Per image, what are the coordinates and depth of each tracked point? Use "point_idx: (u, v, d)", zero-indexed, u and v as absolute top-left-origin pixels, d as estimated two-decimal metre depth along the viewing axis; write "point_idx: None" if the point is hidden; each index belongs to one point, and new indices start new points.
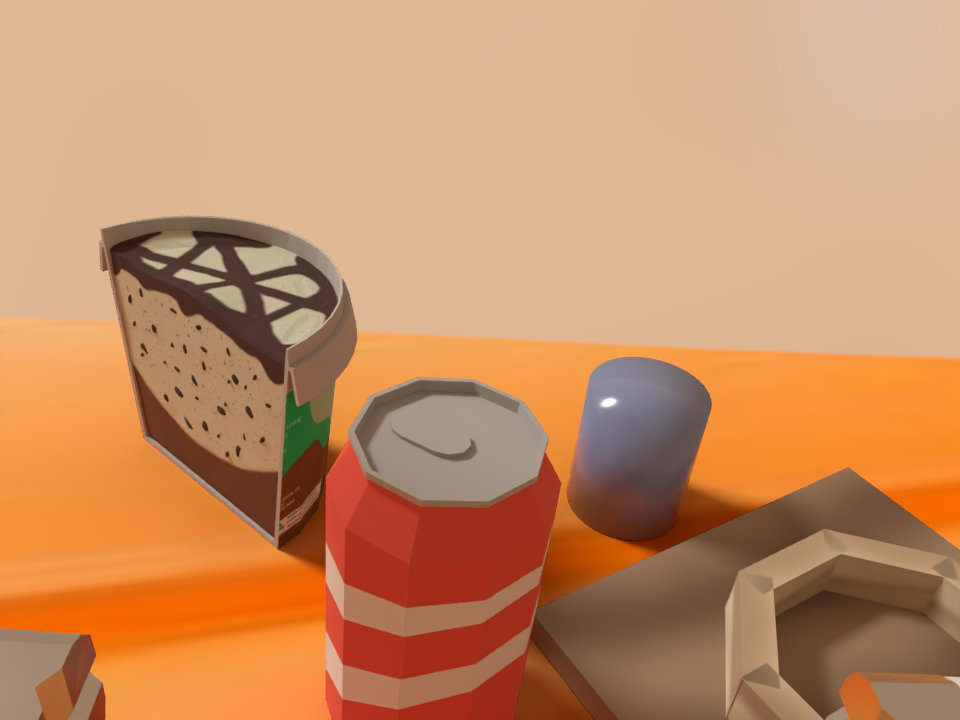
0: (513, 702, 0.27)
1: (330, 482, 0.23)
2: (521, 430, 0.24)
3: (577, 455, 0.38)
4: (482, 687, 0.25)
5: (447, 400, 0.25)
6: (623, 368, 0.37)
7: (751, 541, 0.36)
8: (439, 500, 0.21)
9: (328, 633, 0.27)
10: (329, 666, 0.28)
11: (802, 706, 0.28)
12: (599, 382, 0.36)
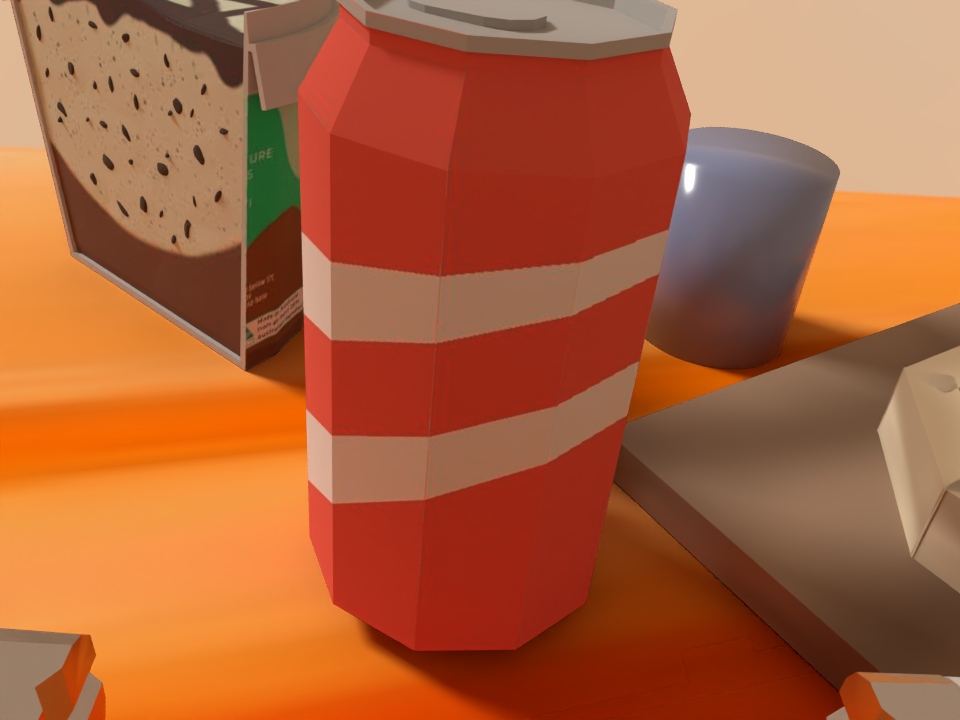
0: (603, 512, 0.17)
1: (305, 91, 0.14)
2: (626, 20, 0.14)
3: None
4: (563, 462, 0.15)
5: None
6: (712, 136, 0.28)
7: (895, 360, 0.27)
8: (502, 37, 0.11)
9: (310, 408, 0.17)
10: (313, 469, 0.18)
11: None
12: None
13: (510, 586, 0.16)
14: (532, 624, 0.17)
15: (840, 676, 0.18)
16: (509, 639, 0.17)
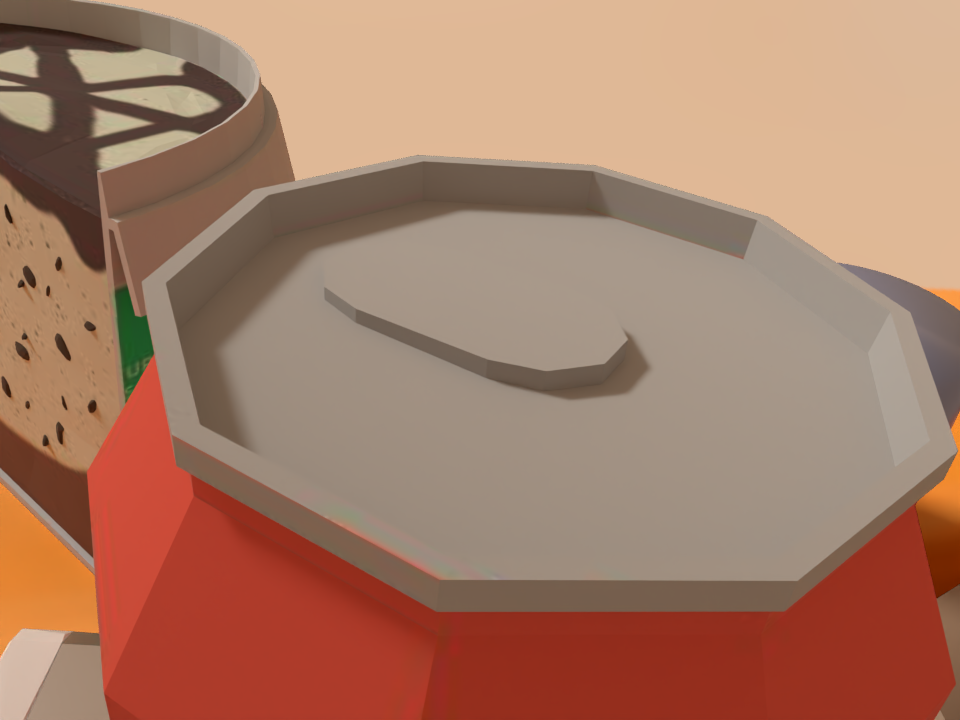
0: None
1: (93, 490, 0.06)
2: (779, 303, 0.07)
3: None
4: None
5: (515, 222, 0.08)
6: None
7: None
8: (541, 576, 0.04)
9: None
10: None
11: None
12: None
13: None
14: None
15: None
16: None
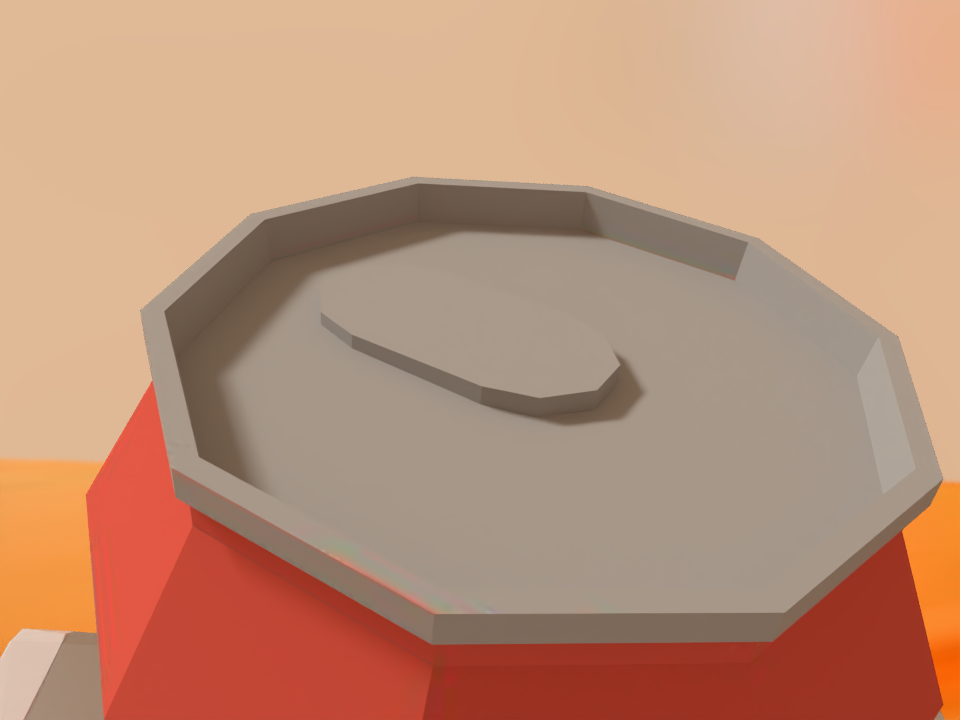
0: None
1: (93, 514, 0.06)
2: (770, 326, 0.07)
3: None
4: None
5: (509, 244, 0.08)
6: None
7: None
8: (533, 609, 0.04)
9: None
10: None
11: None
12: None
13: None
14: None
15: None
16: None
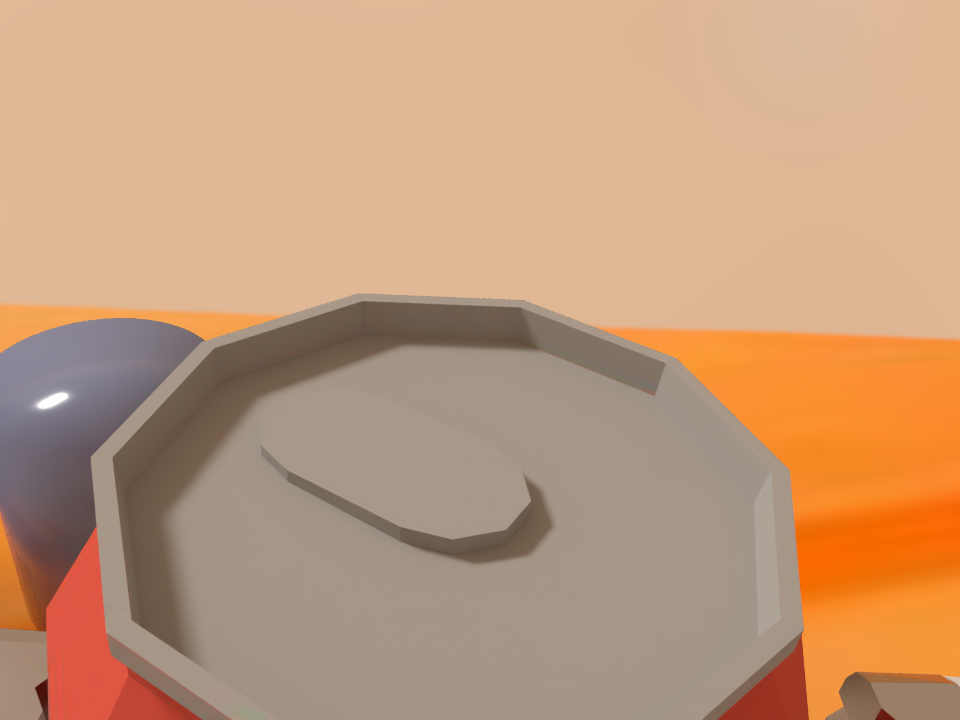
0: None
1: (51, 631, 0.07)
2: (682, 447, 0.08)
3: None
4: None
5: (447, 358, 0.08)
6: (84, 337, 0.20)
7: None
8: None
9: None
10: None
11: None
12: (10, 362, 0.19)
13: None
14: None
15: None
16: None
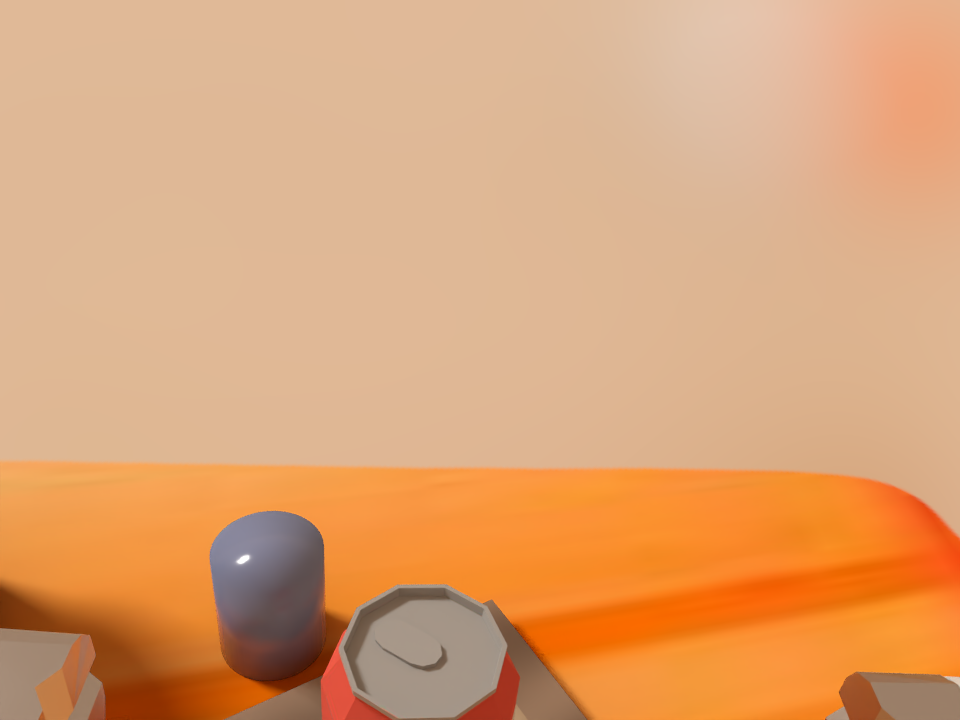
0: None
1: (324, 686, 0.28)
2: (485, 635, 0.29)
3: None
4: None
5: (423, 605, 0.29)
6: (254, 524, 0.41)
7: None
8: (413, 717, 0.26)
9: None
10: None
11: None
12: (223, 541, 0.40)
13: None
14: None
15: None
16: None
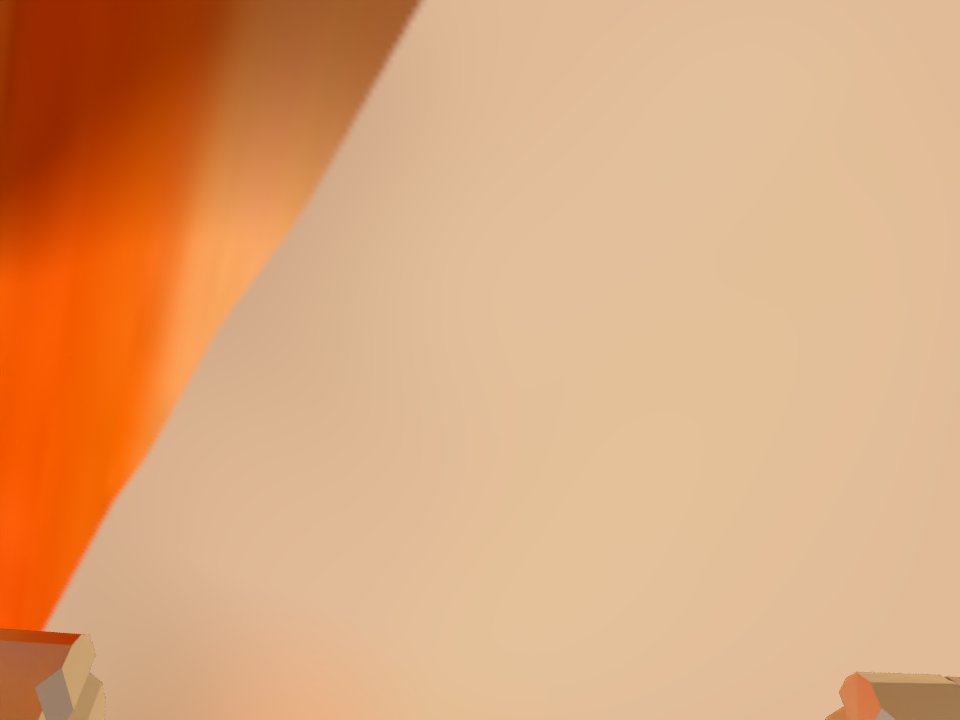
0: None
1: None
2: None
3: None
4: None
5: None
6: None
7: None
8: None
9: None
10: None
11: None
12: None
13: None
14: None
15: None
16: None
